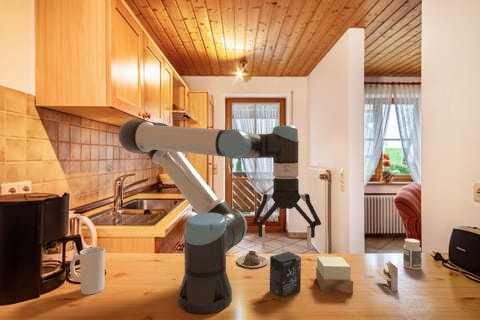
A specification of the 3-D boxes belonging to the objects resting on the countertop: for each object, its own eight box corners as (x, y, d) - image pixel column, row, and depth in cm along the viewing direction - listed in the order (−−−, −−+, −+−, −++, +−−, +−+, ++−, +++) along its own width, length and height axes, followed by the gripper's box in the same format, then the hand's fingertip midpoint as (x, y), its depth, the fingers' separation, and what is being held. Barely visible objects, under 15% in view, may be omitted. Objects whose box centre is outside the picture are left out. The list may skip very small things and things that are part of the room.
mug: (109, 284, 85) (109, 246, 85) (98, 295, 78) (98, 254, 78) (77, 284, 85) (76, 246, 85) (63, 295, 78) (63, 254, 78)
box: (281, 298, 77) (282, 261, 77) (269, 290, 81) (269, 255, 81) (301, 291, 81) (301, 256, 81) (288, 283, 86) (288, 250, 86)
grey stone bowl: (230, 263, 103) (230, 251, 103) (252, 255, 112) (252, 244, 112) (252, 273, 95) (252, 260, 95) (274, 263, 103) (274, 251, 103)
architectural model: (386, 291, 82) (386, 267, 82) (376, 281, 89) (376, 258, 89) (397, 292, 81) (398, 267, 81) (387, 281, 88) (387, 259, 88)
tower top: (323, 279, 81) (323, 266, 81) (317, 268, 89) (317, 256, 89) (350, 279, 81) (350, 266, 81) (341, 268, 89) (341, 256, 89)
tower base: (322, 293, 81) (322, 279, 81) (316, 279, 90) (316, 267, 90) (353, 294, 80) (353, 280, 80) (343, 280, 89) (343, 268, 89)
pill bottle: (421, 266, 100) (421, 239, 100) (421, 271, 95) (422, 243, 95) (403, 262, 103) (403, 237, 103) (403, 268, 98) (403, 241, 98)
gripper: (243, 178, 78) (244, 251, 78) (331, 178, 76) (331, 253, 76) (245, 176, 86) (245, 242, 86) (325, 176, 83) (325, 244, 84)
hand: (286, 247), depth 81 cm, fingers open, 13 cm apart
